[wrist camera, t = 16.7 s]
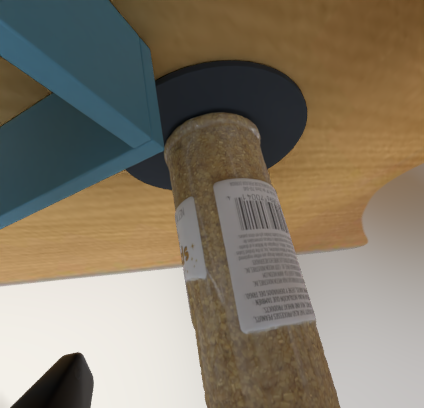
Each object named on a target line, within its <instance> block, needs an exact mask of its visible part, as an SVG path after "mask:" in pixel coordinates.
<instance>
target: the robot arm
mask: <svg viewBox="0 0 424 408" xmlns="http://www.w3.org/2000/svg"><path fill="white" fill-rule="evenodd" d="M93 384H94V382H93V376H92V373H91V371H90V369H89V367H88V365H87V363H86V360H85V358H84V356H83V355H82V354H81V353H78V352H77V353H73V354H68V355H64V356H62V357H61V358H60V359H59V360H58V361H57V362H56V363H55V364H54V365H53V366H52V367H51V368H50V369H49V370H48V371H47V372H46V373H45V374H44V375H43V376H42V377H41V378H40V379H39V380H38V381H37V382H36V383H35V384H34V385H33V386H32V387H31V388H30V389H29V390H28V391H27V392H26V393H25V394H24V395H23V396H22V397H21V398H20V399H19V400H18V401H17V402H16V403H15V404H14V405H13V406H12V407H10V408H90V406H91V399H92V393H93Z"/></svg>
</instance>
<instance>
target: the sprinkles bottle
mask: <svg viewBox="0 0 424 408" xmlns="http://www.w3.org/2000/svg"><path fill="white" fill-rule="evenodd" d="M260 139H261V138H260V134H259V131H258V129H257V127H256V125H255V124H254V123H253V122H251V121H250V120H249V119H247V118H244V117H243V116H240V115H237V114H232V113H224V112H217V113H208V114H205V115H201V116H198V117H195V118H192V119H189V120H187V121H185V122H184V123H183V124H182V125H180V126H178V127H177V128H176V129H175V130H174V131H173V132H172V134H171V136H170V137H169V138H168V139H167V141H166V144H165V147H164V148H165V149H164V158H165V162H166V164H167V166H168V168H169V172H170V180H171V186H172V191H173V196H174V204H175V211H176V212H175V221H176V227H177V233H178V239H179V245H180V251H181V257H182V264H183V270H184V277H185V283H186V289H187V295H188V302H189V308H190V313H191V319H192V323H193V326H194V329H195V331H196V339H197V346H198V353H199V360H200V367H201V375H202V380H203V387H204V391H205V401H206V405H207V408H340V405H339V401H338V397H337V393H336V389H335V387H334V384H333V380H332V377H331V373H330V371H329V368H328V363H327V361H326V358H325V356H324V350H323V347H322V343H321V341H320V337H319V333H318V330H317V327H316V318H315V314H314V311H313V308H312V305H311V302H310V298H309V295H308V292H307V289H306V286H305V282H304V279H303V276H302V272H301V269H300V266H299V263H298V260H297V256H296V253H295V250H294V247H293V244H292V240H291V237H290V234H289V231H288V228H287V225H286V222H285V218H284V215H283V212H282V209H281V206H280V203H279V200H278V197H277V194H276V191H275V189H274V188H273V186H272V184H271V180H270V176H269V173H268V170H267V167H266V164H265V162H264V159H263V155H262V152H261V148H260Z"/></svg>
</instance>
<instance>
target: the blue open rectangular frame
mask: <svg viewBox="0 0 424 408" xmlns="http://www.w3.org/2000/svg"><path fill="white" fill-rule="evenodd" d="M0 56H1V57H3V58H4V59H6V60H7V61H8V62H10V63H11V64H13V65H14V66H16V67H17V68H19V69H20V70H21V71H23V72H24V73H26V74H27V75H29V76H30V77H32V78H33V79H34V80H36V81H37V82H39V83H40V84H42V85H43V86H44V87H46V88H47V89H49V90H50V91H52V92H53V93H52V94H50V95H49V96H47V97H46V98H44V99H43V100H41V101H40V102H38V103H37V104H35V105H34V106H32V107H30V108H29V109H27V110H26V111H24V112H23V113H21V114H20V115H18V116H17V117H15V118H14V119H12V120H11V121H9V122H7V123H6V124H4V125H3V126H1V127H0V229H2V228H4V227H6V226H8V225H10V224H12V223H14V222H17V221H19V220H21V219H23V218H25V217H27V216H29V215H31V214H33V213H35V212H37V211H39V210H41V209H44V208H46V207H48V206H50V205H52V204H54V203H56V202H58V201H60V200H62V199H64V198H66V197H68V196H71V195H73V194H75V193H77V192H79V191H81V190H83V189H85V188H87V187H89V186H91V185H93V184H95V183H98V182H100V181H102V180H104V179H106V178H108V177H110V176H112V175H114V174H116V173H118V172H120V171H122V170H125V169H127V168H129V167H131V166H133V165H135V164H137V163H139V162H141V161H143V160H145V159H147V158H150V157H152V156H154V155H156V154H158V153H160V152H162V151H164V149H165V148H164V142H163V135H162V128H161V121H160V114H159V107H158V100H157V93H156V86H155V80H154V73H153V66H152V59H151V52H150V49H149V48H148V46H147V45H146V44H145V43H144V42H143V41H142V39H141V38H140V37H138V34H137V33H136V32H135V31H134V30H133V29H132V27H131V26H130V25H129V24H128V23H127V21H126V20H125V19H124V18H123V17H122V16H121V14H120V13H119V12H118V11H117V10H116V9H115V7H114V6H113V5H112V4H111V3H110V1H109V0H0Z"/></svg>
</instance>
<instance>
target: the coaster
mask: <svg viewBox="0 0 424 408" xmlns="http://www.w3.org/2000/svg"><path fill="white" fill-rule="evenodd" d="M155 86H156V93H157V100H158V107H159V114H160V121H161V128H162V135H163V142H164V147H165V144H166V141H167V139H168V138H169V137H170V136H171V134H172V132H173V131H174V130H175V129H176V128H177V127H178V126H180V125H182V124H183V123H184V122H185V121H187V120H189V119H192V118H195V117H198V116H201V115H205V114H208V113H217V112H224V113H232V114H237V115H240V116H243V117H244V118H247V119H249V120H250V121H251V122H253V123H254V124H255V125H256V127H257V129H258V131H259V134H260V138H261V139H260V148H261V152H262V155H263V159H264V162H265V164H266V167H267V169H268V168H270V167H272V166H273V165H274V164H276V163H277V162H279V161H280V160H281V159H282V158H283V157H285V156H286V155H287V154H288V153H289V152H290V151H291V150H292V149H293V147H294V146H295V145H296V143H297V142H298V141H299V139H300V137H301V135H302V133H303V131H304V128H305V126H306V121H307V107H306V102H305V99H304V97H303V95H302V93H301V91H300V89H299V88H298V86H297V85H296V84H295V83H294V82H293V81H292V80H291V79H290V78H289V77H288V76H286V75H285V74H283V73H281V72H279V71H278V70H276V69H273V68H271V67H268V66H265V65H262V64H258V63H253V62H246V61H215V62H208V63H202V64H198V65H194V66H190V67H186V68H183V69H180V70H178V71H175V72H172V73H170V74H168V75H166V76H164V77H162V78H160V79H158V80H156V81H155ZM125 170H126V171H128V172H129V173H130V174H131V175H132V176H134V177H135V178H137V179H138V180H140V181H142V182H144V183H147V184H149V185H152V186H155V187H159V188H163V189H169V190H172V186H171V180H170V172H169V168H168V166H167V164H166V162H165V158H164V151H162V152H160V153H158V154H156V155H154V156H152V157H150V158H147V159H145V160H143V161H141V162H139V163H137V164H135V165H133V166H131V167H129V168H127V169H125Z"/></svg>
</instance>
